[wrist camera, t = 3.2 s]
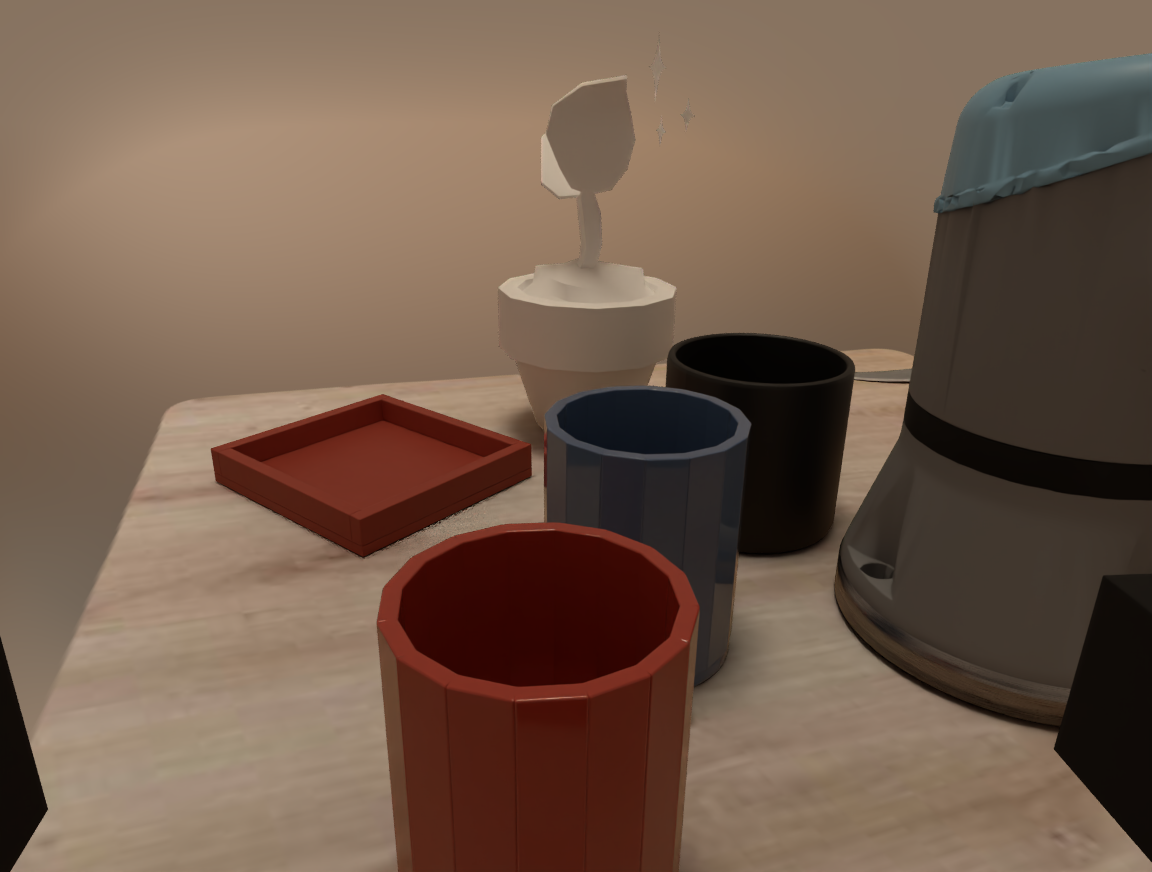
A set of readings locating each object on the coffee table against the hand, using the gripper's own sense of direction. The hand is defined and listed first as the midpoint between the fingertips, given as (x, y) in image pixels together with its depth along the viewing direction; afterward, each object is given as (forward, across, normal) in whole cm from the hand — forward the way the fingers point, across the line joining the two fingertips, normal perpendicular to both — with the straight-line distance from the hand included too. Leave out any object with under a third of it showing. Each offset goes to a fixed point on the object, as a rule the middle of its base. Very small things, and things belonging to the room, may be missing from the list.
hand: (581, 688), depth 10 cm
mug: (+34, +13, -15) cm, 39 cm away
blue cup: (+22, +5, -15) cm, 27 cm away
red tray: (+39, -8, -15) cm, 42 cm away
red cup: (+10, 0, -15) cm, 18 cm away
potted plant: (+47, +5, -15) cm, 49 cm away
